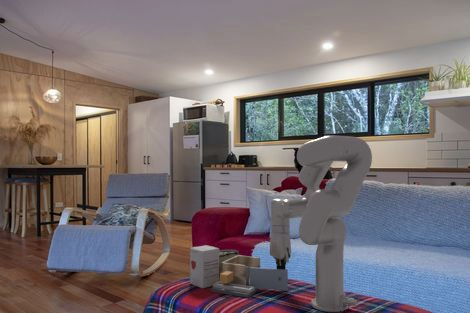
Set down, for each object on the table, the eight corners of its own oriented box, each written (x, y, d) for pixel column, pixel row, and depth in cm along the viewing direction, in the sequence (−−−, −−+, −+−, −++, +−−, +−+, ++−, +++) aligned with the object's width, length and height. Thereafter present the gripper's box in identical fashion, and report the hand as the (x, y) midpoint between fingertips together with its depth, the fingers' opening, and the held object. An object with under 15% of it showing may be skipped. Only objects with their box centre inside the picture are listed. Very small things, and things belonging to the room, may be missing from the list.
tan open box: (260, 278, 170) (260, 257, 171) (244, 288, 156) (244, 265, 156) (237, 275, 175) (237, 255, 176) (220, 284, 161) (220, 262, 161)
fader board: (256, 291, 152) (256, 285, 152) (248, 297, 145) (248, 291, 145) (220, 286, 159) (220, 280, 159) (210, 291, 152) (210, 285, 152)
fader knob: (233, 285, 155) (233, 271, 155) (227, 289, 151) (227, 274, 151) (226, 284, 157) (226, 270, 157) (219, 287, 152) (219, 273, 152)
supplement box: (189, 283, 162) (189, 247, 163) (206, 279, 168) (206, 244, 169) (202, 288, 156) (202, 251, 156) (219, 284, 162) (219, 247, 162)
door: (287, 292, 151) (287, 270, 151) (245, 288, 155) (245, 267, 155) (287, 290, 153) (287, 268, 153) (246, 287, 157) (246, 266, 157)
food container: (230, 269, 185) (230, 248, 186) (239, 272, 180) (239, 250, 181) (209, 274, 177) (209, 251, 178) (217, 276, 173) (217, 254, 173)
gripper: (263, 227, 164) (264, 272, 163) (281, 232, 150) (282, 280, 149) (279, 226, 167) (280, 270, 166) (298, 230, 153) (299, 278, 152)
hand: (281, 274), depth 158 cm, fingers closed
